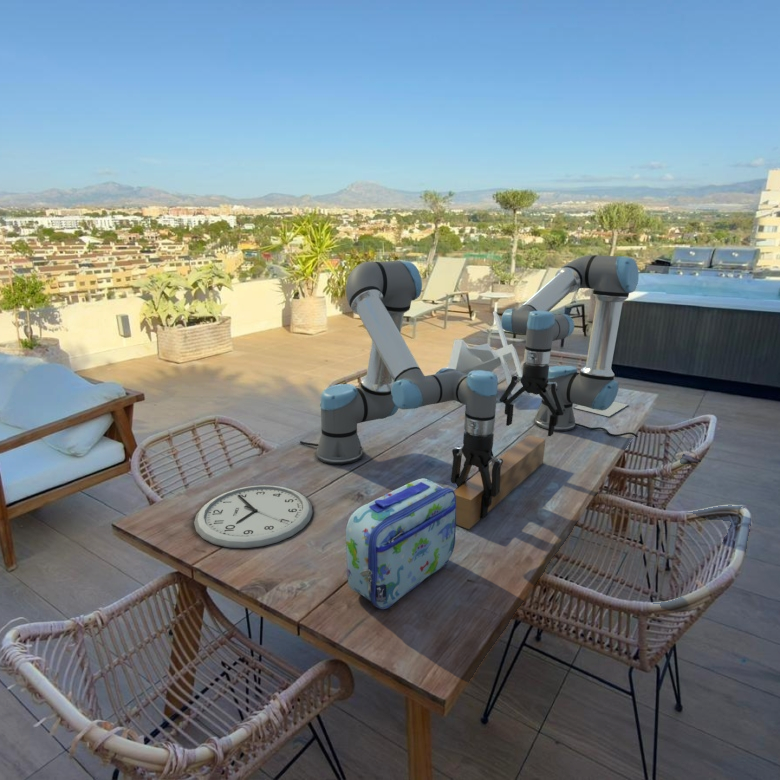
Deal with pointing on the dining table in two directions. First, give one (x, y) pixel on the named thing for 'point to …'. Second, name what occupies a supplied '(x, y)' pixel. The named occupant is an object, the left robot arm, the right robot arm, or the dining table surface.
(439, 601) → the dining table surface
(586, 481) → the dining table surface
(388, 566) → the lunch box
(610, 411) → the invitation card
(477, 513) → the post
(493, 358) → the white plastic object
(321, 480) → the dining table surface
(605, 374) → the right robot arm
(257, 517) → the wall clock
